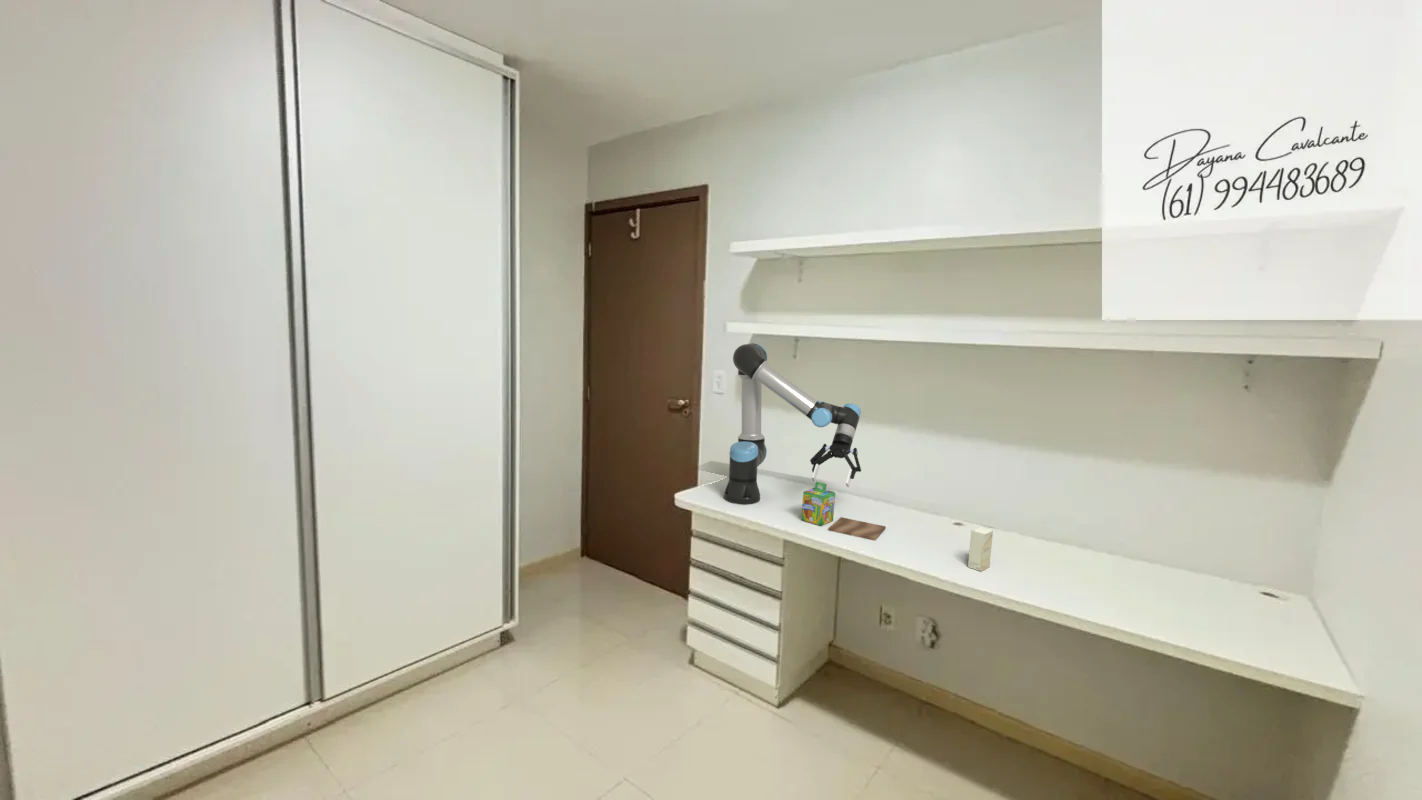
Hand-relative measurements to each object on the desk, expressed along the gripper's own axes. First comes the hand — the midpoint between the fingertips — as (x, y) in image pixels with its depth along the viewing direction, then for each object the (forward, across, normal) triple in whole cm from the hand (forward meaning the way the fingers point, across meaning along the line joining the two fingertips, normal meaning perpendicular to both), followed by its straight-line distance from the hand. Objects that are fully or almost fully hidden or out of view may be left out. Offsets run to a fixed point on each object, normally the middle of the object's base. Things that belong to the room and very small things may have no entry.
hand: (830, 482), depth 227 cm
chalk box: (+15, +2, -4) cm, 16 cm away
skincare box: (+24, -56, +4) cm, 61 cm away
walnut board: (+16, -14, -4) cm, 21 cm away
